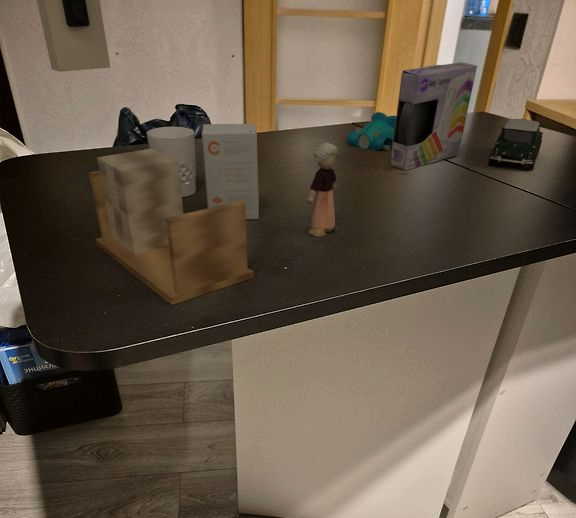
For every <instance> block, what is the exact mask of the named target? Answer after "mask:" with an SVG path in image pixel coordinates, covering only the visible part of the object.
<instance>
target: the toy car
mask: <svg viewBox="0 0 576 518" xmlns="http://www.w3.org/2000/svg"><path fill="white" fill-rule="evenodd" d="M395 123H396V115H387V114H386V113H385V112H381V111H376V112H374V113H372V116H371V119H370V121H369V122H368V123H367V124H366V125H364V126H363V127H356V129H353V130H351V131H350V132H349V133H348V135H347V137H346V141H347V143H348V145H350V146H355V147H358V148H359V149H360V148H362V149H365V150H373V151H379V150H383V151H387V152H389V151H390V149H391V150H392V144H393V137H394V129H395Z"/></svg>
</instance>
